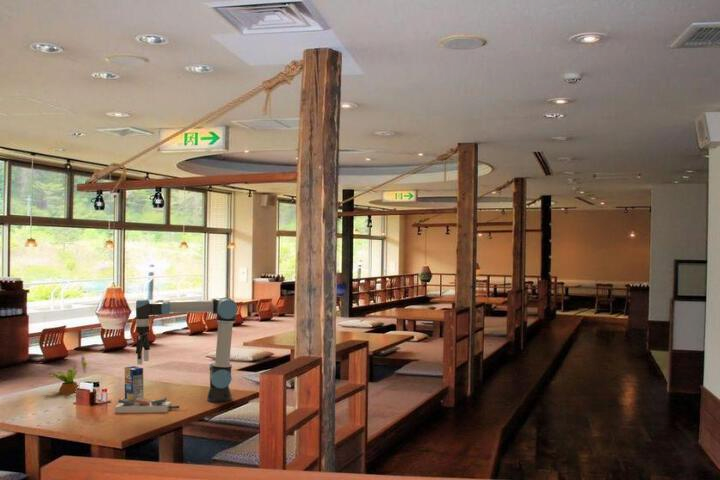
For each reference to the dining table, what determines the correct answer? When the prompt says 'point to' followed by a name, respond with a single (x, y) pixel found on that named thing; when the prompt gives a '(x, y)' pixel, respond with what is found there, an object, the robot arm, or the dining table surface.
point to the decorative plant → (69, 379)
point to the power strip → (144, 407)
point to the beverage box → (133, 383)
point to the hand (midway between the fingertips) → (143, 362)
